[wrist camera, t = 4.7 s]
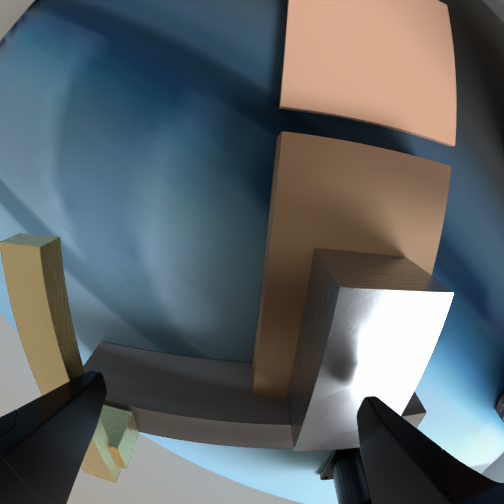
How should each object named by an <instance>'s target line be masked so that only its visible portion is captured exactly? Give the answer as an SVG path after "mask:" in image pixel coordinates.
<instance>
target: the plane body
mask: <svg viewBox="0 0 504 504" xmlns="http://www.w3.org/2000/svg"><path fill="white" fill-rule="evenodd" d="M450 174H451V166H448V165H445V164H442V163H438V162H435V161H431V160H428V159H424V158H421V157H417V156H413V155H409V154H405V153H401V152H397V151H393V150H389V149H384V148H380V147H375V146H370V145H365V144H361V143H355V142H350V141H345V140H339V139H333V138H327V137H321V136H314V135H307V134H300V133H292V132H284V131H282V132H281V133H280V134H279V135H278V137H277V138H276V148H275V159H274V169H273V179H272V189H271V199H270V209H269V219H268V229H267V238H266V248H265V257H264V266H263V276H262V285H261V294H260V303H259V311H258V320H257V329H256V338H255V346H254V355H253V363H246V362H234V361H223V360H214V359H205V358H196V357H189V356H181V355H174V354H167V353H161V352H155V351H149V350H143V349H138V348H132V347H127V346H122V345H117V344H112V343H107V342H103V341H102V342H101V343H100V345H99V346H98V347H97V349H96V350H95V351H94V353H93V354H92V355H91V357H90V358H89V359H88V361H87V362H86V363H85V365H84V366H83V368H84V372H87V371H89V370H96V371H100V372H102V374H103V376H104V380H105V384H106V388H107V395H106V398H105V401H104V404H103V405H106V406H110V407H114V408H118V409H122V410H126V411H130V412H133V415H134V418H135V422H136V426H137V429H138V432H143V433H147V434H152V435H157V436H162V437H167V438H173V439H179V440H185V441H191V442H198V443H206V444H215V445H224V446H236V447H252V448H293V442H292V434H291V425H290V417H289V408H288V400H287V389H288V385H289V380H290V376H291V371H292V367H293V362H294V357H295V353H296V348H297V343H298V338H299V333H300V328H301V322H302V317H303V312H304V306H305V301H306V295H307V289H308V283H309V277H310V271H311V265H312V259H313V252H314V248H322V249H332V250H343V251H353V252H363V253H373V254H383V255H393V256H403V257H407V258H408V259H410V260H411V261H412V262H414V263H415V264H417V265H418V266H419V267H421V268H422V269H423V270H425V271H426V272H427V273H429V274H430V275H432V271H433V267H434V263H435V259H436V255H437V250H438V246H439V241H440V237H441V232H442V227H443V221H444V216H445V210H446V204H447V197H448V190H449V183H450ZM426 413H427V412H426V410H425V409H424V407H423V405H422V403H421V402H420V400H419V398H418V397H417V395H416V393H415V392H413V394H412V396H411V398H410V400H409V402H408V403H407V405H406V407H405V409H404V411H403V413H402V414H401V416H402V417H403V418H404V419H405V420H407V421H408V422H409V423H410V424H412V425H413V426H414V427H415V428H417V427H418V425H419V424H420V422H421V421H422V419H423V418H424V416H425V414H426Z"/></svg>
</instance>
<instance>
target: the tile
mask: <svg viewBox="0 0 504 504" xmlns="http://www.w3.org/2000/svg"><path fill="white" fill-rule="evenodd" d="M279 109H287V110H295V111H302V112H309V113H316V114H322V115H328V116H334V117H339V118H344V119H349V120H354V121H359V122H364V123H368V124H373V125H377V126H381V127H385V128H389V129H393V130H397V131H401V132H404V133H408V134H412V135H415V136H418V137H422V138H425V139H428V140H432V141H435V142H438V143H441V144H444V145H447V146H455V137H456V75H455V60H454V49H453V40H452V33H451V25H450V19H449V13H448V8H447V5H446V4H444V3H442V2H440V1H438V0H288V8H287V21H286V34H285V46H284V58H283V70H282V82H281V93H280V105H279Z"/></svg>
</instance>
